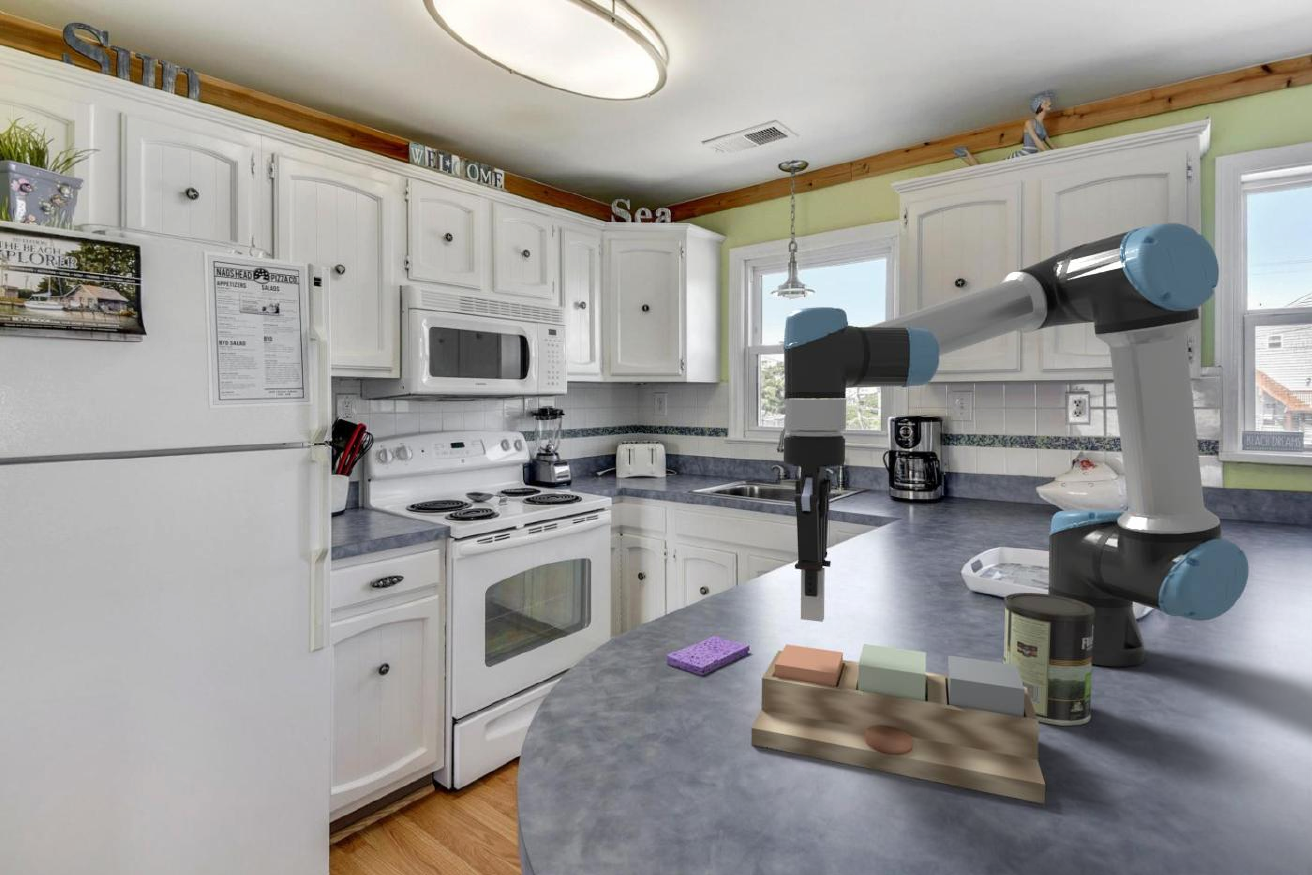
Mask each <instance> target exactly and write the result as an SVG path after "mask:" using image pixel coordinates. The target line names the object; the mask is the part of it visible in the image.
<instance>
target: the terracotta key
mask: <svg viewBox="0 0 1312 875" xmlns="http://www.w3.org/2000/svg"><path fill="white" fill-rule="evenodd" d="M781 651H782V653H781V654H780V656H779V658H778V659H777V661H776V663H775V677H779V678H785V679H791V680H797V681H804V682H810V683H816V684H822V685H828V686H834V687H838V685H839V682H840V679H841V675H842V672H843V660H844V652H842V651H837V650H828V649H821V648H814V647H807V646H799V645H793V644H785V646H784V648H783V649H782V650H781Z"/></svg>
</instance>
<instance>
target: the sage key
mask: <svg viewBox="0 0 1312 875" xmlns="http://www.w3.org/2000/svg"><path fill="white" fill-rule="evenodd" d="M858 662H859V670H858V690H859V691H865V692H871V693H878V694H884V695H890V696H896V697H902V698H908V699H915V700H921V701H925V683H926V672H927V670H926V669H927V666H926V665H927V664H926V663H927V653H926V651H918V650H912V649H911V650H910V649H904V648H903V649H902V648H897V647H896V648H895V647H890V646H889V647H888V646H882V645H876V644H875V645H873V644H869V643H864V644H863V647H862V650H861V654H860V658H859V661H858Z"/></svg>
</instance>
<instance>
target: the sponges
mask: <svg viewBox="0 0 1312 875" xmlns="http://www.w3.org/2000/svg"><path fill="white" fill-rule="evenodd" d="M749 652H750V645H749V644H745V643H741V642H737V641H732V640H728V639H725V638H722V637H719V636H716V635H713V636H712V637H709V638H708V639H705V640H702V641H701V642H698V643H694V644H692V645H690V646H688V647H684V648H682V649H679V650H677V651H673V652H671V653H668V654H666V661H665V662H666V664H667V665H669V666H673V667H676V668H678V669H681V670H684V671H687V672H689V673H693V674H696V675H698V676H704V675H706V674H708V673H710V672H712V671H714V670H716V669H718V668H720V667H723V666H725V665H727V664H729V663H731V662H733V661H735V660H738V659H740V658H742V657H745V656H746V655H748V654H749Z"/></svg>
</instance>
